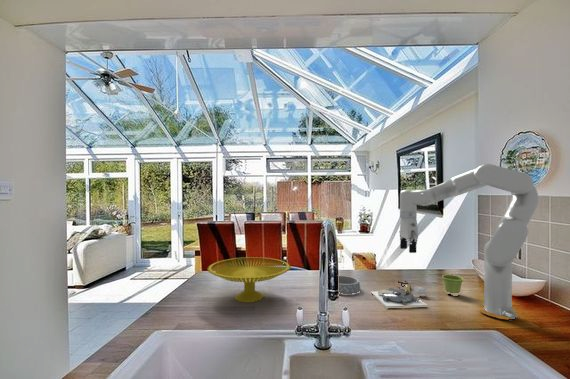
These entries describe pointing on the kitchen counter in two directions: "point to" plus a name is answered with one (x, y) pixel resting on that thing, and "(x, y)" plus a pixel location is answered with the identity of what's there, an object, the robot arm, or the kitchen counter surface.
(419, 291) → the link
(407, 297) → the sprocket
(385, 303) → the base plate
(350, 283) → the dog bowl
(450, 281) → the plant pot
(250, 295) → the cake stand
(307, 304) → the kitchen counter surface
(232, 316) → the kitchen counter surface
